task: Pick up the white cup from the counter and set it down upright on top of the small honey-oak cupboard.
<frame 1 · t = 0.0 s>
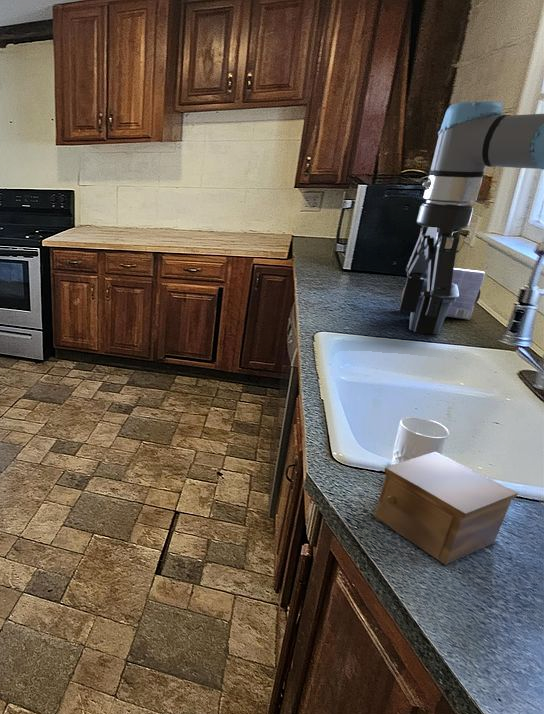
hand: (414, 321, 98), 28 cm above the worktop, tool pointing down, fingers open, 13 cm apart
cake pan box: (441, 315, 198), on the worktop
white cup: (410, 473, 102), on the worktop
storage bin: (419, 326, 185), on the worktop
cupboard: (431, 529, 87), on the worktop
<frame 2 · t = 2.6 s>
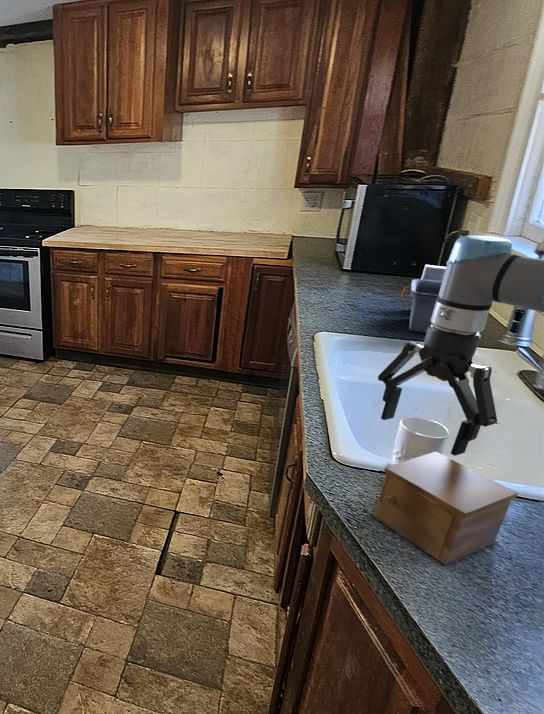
hand: (420, 434, 99), 8 cm above the worktop, tool pointing down, fingers open, 13 cm apart
nothing on the worktop moved.
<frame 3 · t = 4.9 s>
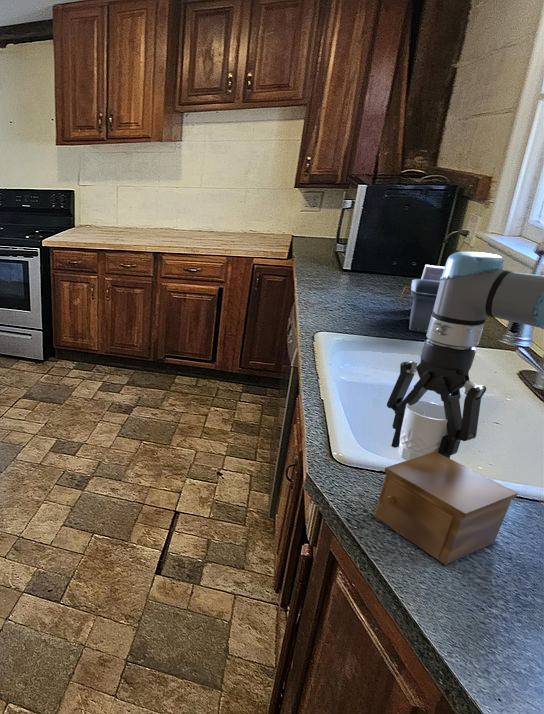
hand: (418, 455, 100), 4 cm above the worktop, tool pointing down, fingers closed on white cup, 8 cm apart
white cup: (417, 458, 100), point 3 cm above the worktop, touching gripper
everything else where it was.
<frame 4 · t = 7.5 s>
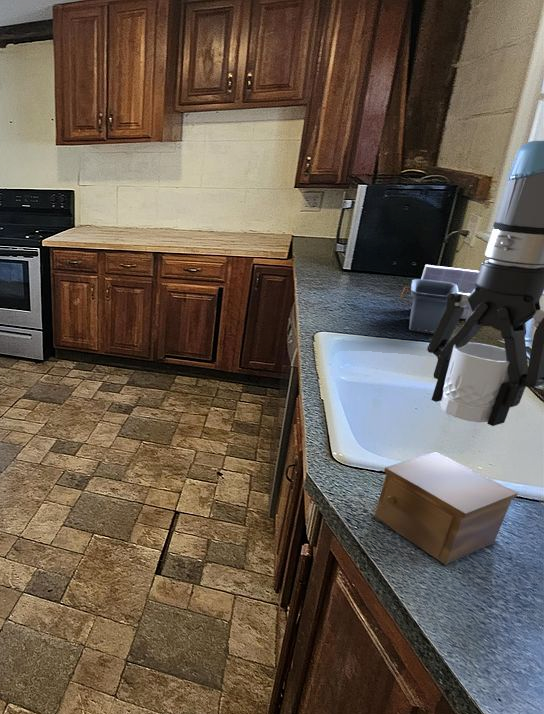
hand: (466, 410, 81), 21 cm above the worktop, tool pointing down, fingers closed on white cup, 8 cm apart
white cup: (465, 413, 81), point 20 cm above the worktop, touching gripper
everything else where it was.
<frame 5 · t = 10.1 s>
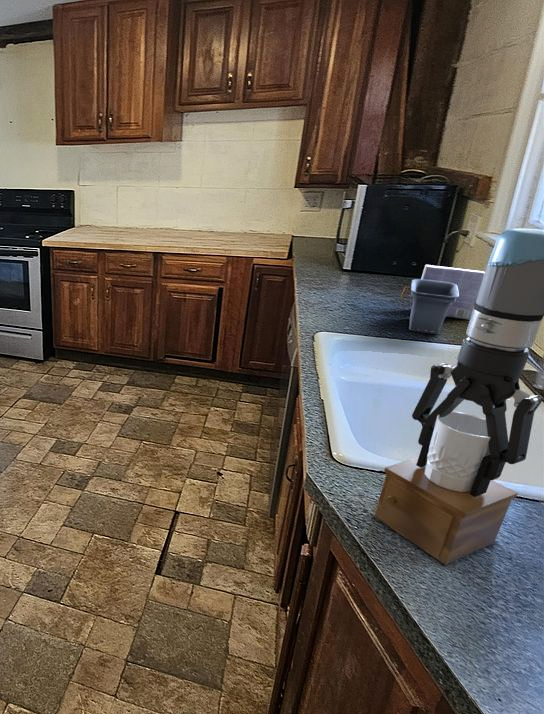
hand: (449, 478, 83), 10 cm above the worktop, tool pointing down, fingers closed on white cup, 8 cm apart
white cup: (448, 480, 83), point 10 cm above the worktop, touching cupboard, gripper
everything else where it was.
when the fingers open (10 cm above the worktop, at t = 10.4 s): white cup stays where it is, resting on cupboard.
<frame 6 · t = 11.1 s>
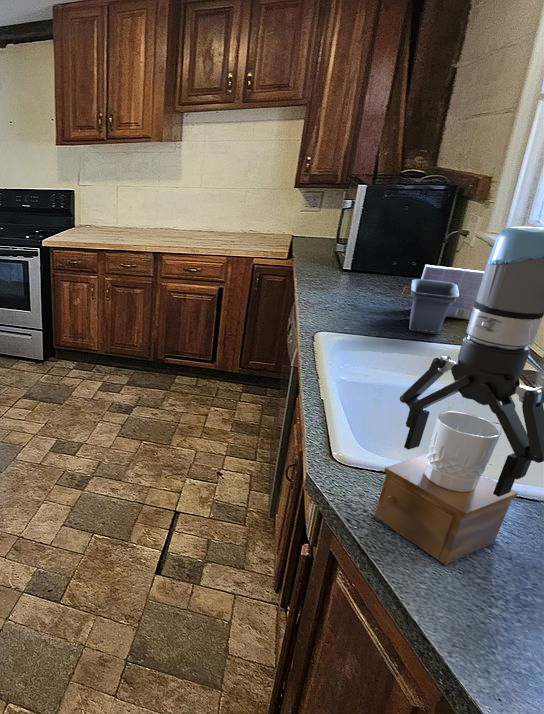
hand: (453, 468, 82), 12 cm above the worktop, tool pointing down, fingers open, 13 cm apart
white cup: (448, 480, 83), point 10 cm above the worktop, touching cupboard
everything else where it was.
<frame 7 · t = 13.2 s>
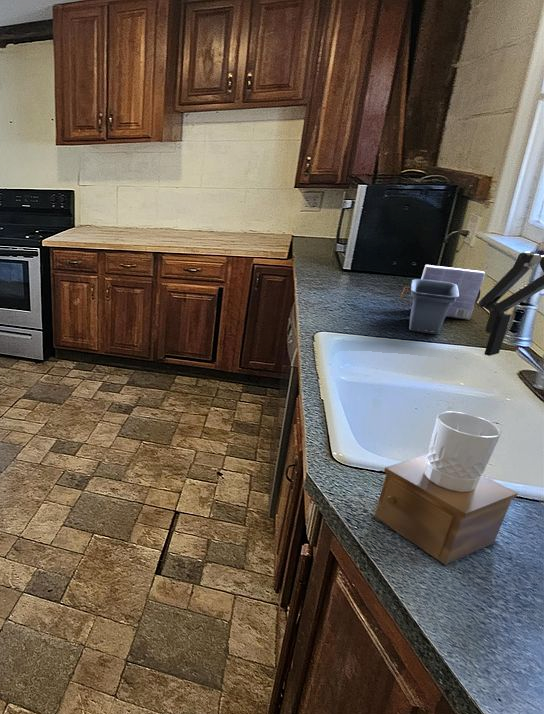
hand: (541, 368, 79), 28 cm above the worktop, tool pointing down, fingers open, 13 cm apart
nothing on the worktop moved.
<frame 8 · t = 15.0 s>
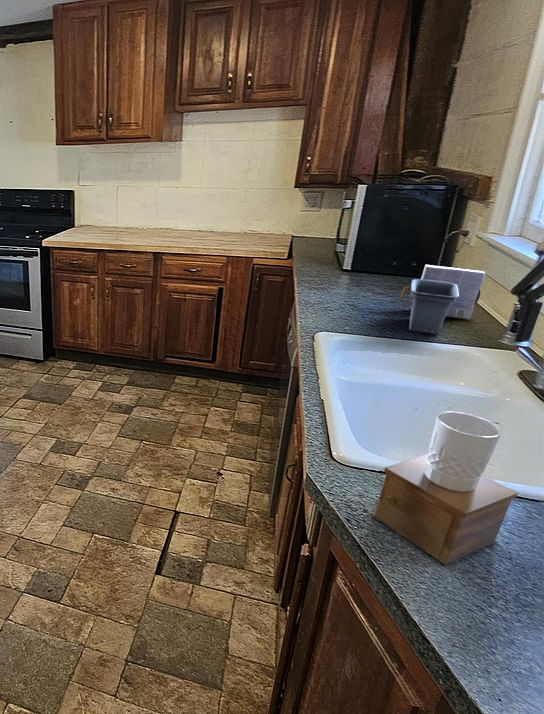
nothing on the worktop moved.
at the end: white cup inside the target area on the cupboard (0.0 cm from its centre), point 9.6 cm above the cupboard's base; white cup tilted 0°; the gripper is holding nothing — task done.
